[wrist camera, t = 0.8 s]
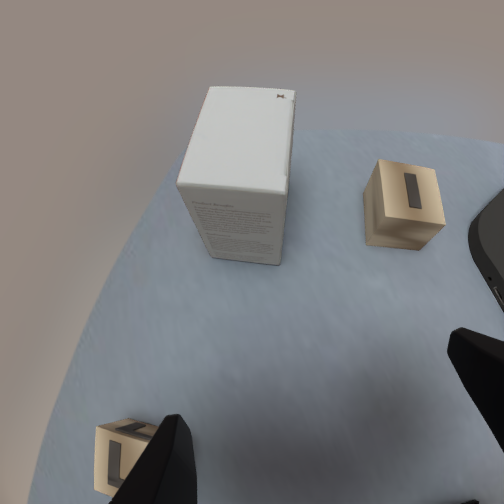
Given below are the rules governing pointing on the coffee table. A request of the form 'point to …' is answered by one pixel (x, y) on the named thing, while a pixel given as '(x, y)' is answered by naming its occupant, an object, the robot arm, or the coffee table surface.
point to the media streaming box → (490, 245)
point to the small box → (240, 172)
